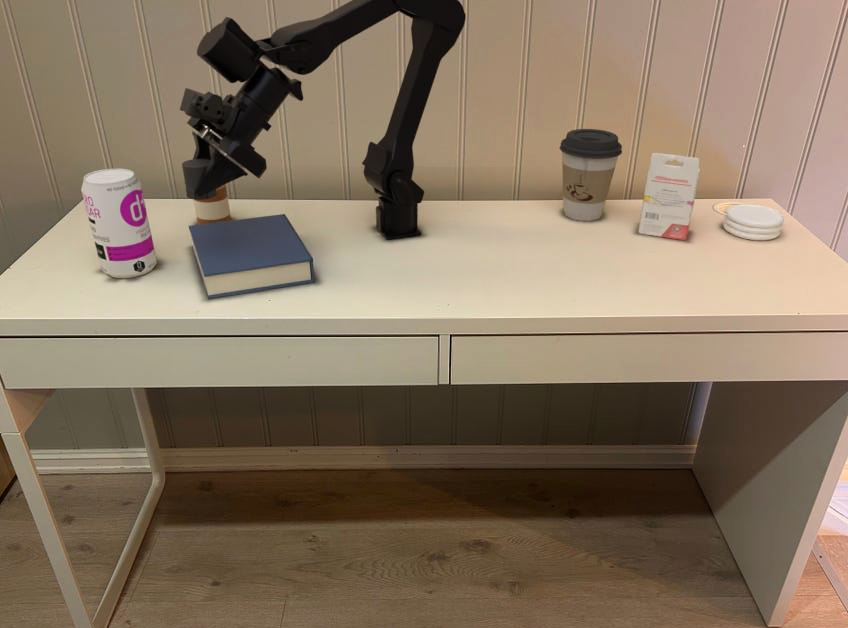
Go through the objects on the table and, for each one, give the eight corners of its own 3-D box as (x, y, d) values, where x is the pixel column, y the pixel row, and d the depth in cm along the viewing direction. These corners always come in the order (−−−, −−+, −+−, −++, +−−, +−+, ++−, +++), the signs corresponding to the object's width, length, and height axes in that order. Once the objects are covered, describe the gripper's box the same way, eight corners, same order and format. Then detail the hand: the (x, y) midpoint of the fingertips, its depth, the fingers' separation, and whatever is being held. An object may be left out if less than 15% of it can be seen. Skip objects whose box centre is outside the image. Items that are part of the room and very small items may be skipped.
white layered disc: (749, 244, 129) (754, 226, 127) (711, 225, 137) (715, 207, 135) (791, 236, 133) (797, 218, 131) (751, 218, 140) (756, 200, 138)
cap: (202, 188, 111) (197, 157, 109) (222, 193, 109) (218, 161, 107) (181, 196, 108) (175, 164, 106) (201, 201, 106) (196, 169, 104)
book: (286, 235, 128) (284, 213, 126) (315, 282, 113) (313, 258, 111) (192, 248, 123) (188, 225, 121) (208, 299, 108) (204, 274, 105)
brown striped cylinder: (228, 215, 136) (221, 167, 131) (233, 227, 131) (226, 177, 126) (195, 219, 134) (187, 171, 129) (199, 231, 129) (191, 181, 124)
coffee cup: (545, 219, 137) (553, 139, 130) (561, 200, 146) (569, 124, 138) (605, 229, 134) (617, 147, 126) (618, 209, 143) (629, 131, 135)
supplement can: (168, 262, 118) (150, 171, 110) (134, 283, 111) (112, 187, 103) (127, 254, 120) (106, 164, 112) (90, 275, 114) (65, 180, 106)
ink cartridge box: (688, 231, 134) (705, 151, 126) (685, 241, 130) (702, 159, 122) (641, 224, 136) (654, 145, 129) (636, 233, 132) (650, 152, 125)
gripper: (190, 55, 108) (128, 141, 108) (233, 78, 95) (162, 175, 95) (248, 104, 116) (190, 184, 116) (295, 132, 102) (229, 221, 103)
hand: (192, 190), depth 108 cm, fingers closed on cap, 4 cm apart
